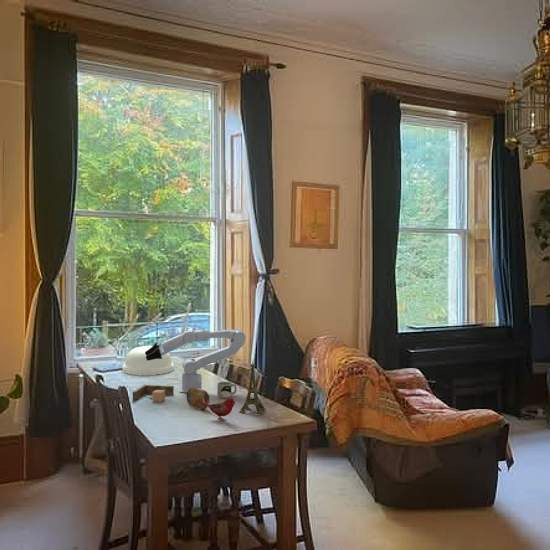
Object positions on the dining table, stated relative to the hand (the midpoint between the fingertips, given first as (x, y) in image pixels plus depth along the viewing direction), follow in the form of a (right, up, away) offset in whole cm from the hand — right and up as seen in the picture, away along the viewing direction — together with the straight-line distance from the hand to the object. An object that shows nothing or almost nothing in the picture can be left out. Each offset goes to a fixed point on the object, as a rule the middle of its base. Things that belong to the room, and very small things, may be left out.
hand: (146, 356), depth 274 cm
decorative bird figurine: (+40, -20, -42) cm, 61 cm away
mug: (+40, -19, -4) cm, 45 cm away
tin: (+29, -20, -24) cm, 42 cm away
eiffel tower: (+53, -20, -29) cm, 64 cm away
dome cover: (-11, -17, +56) cm, 59 cm away
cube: (+9, -19, -13) cm, 25 cm away
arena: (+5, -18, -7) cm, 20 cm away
